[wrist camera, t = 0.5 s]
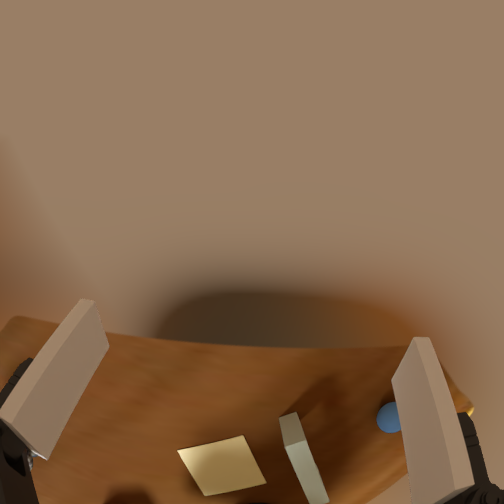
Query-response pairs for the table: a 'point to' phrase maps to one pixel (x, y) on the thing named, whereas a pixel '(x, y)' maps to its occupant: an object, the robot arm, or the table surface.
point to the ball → (389, 418)
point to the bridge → (302, 459)
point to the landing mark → (222, 466)
